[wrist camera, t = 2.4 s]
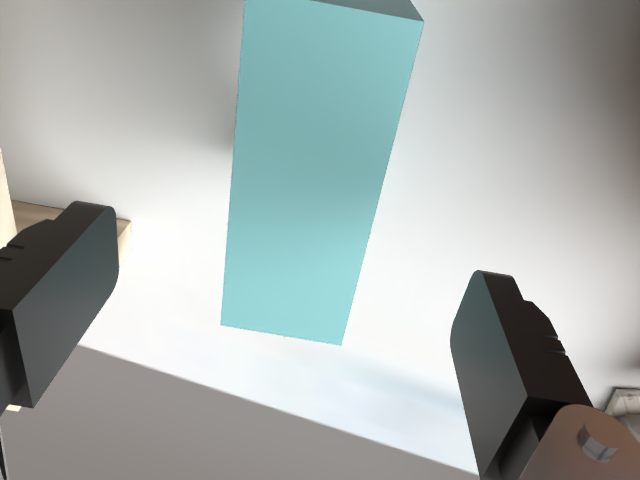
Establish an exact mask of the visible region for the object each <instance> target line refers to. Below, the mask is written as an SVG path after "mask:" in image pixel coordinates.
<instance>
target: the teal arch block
mask: <svg viewBox="0 0 640 480" xmlns="http://www.w3.org/2000/svg"><path fill="white" fill-rule="evenodd" d="M423 25H424V21H423V19H422V18H421V16H420V15H419V13H418V12H417V10H416V9H415V7H414V6H413V4H412V3H411V1H410V0H245V3H244V17H243V30H242V43H241V57H240V70H239V84H238V97H237V110H236V124H235V137H234V151H233V164H232V177H231V191H230V204H229V218H228V231H227V244H226V258H225V271H224V285H223V298H222V311H221V325H223V326H229V327H234V328H240V329H246V330H252V331H258V332H264V333H270V334H276V335H282V336H287V337H293V338H299V339H305V340H311V341H317V342H323V343H329V344H335V345H340V346H341V344H342V340H343V336H344V332H345V329H346V325H347V321H348V317H349V313H350V309H351V305H352V301H353V297H354V294H355V290H356V286H357V282H358V278H359V274H360V270H361V266H362V262H363V259H364V255H365V251H366V247H367V243H368V239H369V235H370V231H371V227H372V224H373V220H374V216H375V212H376V208H377V204H378V200H379V196H380V192H381V188H382V185H383V181H384V177H385V173H386V169H387V165H388V161H389V157H390V153H391V150H392V146H393V142H394V138H395V134H396V130H397V126H398V122H399V118H400V115H401V111H402V107H403V103H404V99H405V95H406V91H407V87H408V83H409V80H410V76H411V72H412V68H413V64H414V60H415V56H416V52H417V48H418V45H419V41H420V37H421V33H422V29H423Z"/></svg>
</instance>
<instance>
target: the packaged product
mask: <svg viewBox="0 0 640 480" xmlns="http://www.w3.org/2000/svg"><path fill="white" fill-rule="evenodd" d="M604 413H606V414H608V415H610V416H611V417H613V418H614V419H616V420H617V421H618V422H620V423H621V424H622V425H623V426H625V427H626V428H627V429H628V430H629V431H630V432H631V434H632V435H633V436H634V437H635V438H636V440H637V441H638V443H639V444H640V390H636V389H616V390H615V391H614V393H613V395H612V397H611V399H610V402H609V404H608V406H607V408H606V410H605V412H604Z"/></svg>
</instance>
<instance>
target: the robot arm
mask: <svg viewBox="0 0 640 480" xmlns="http://www.w3.org/2000/svg"><path fill="white" fill-rule="evenodd" d="M118 274H119V254H118V239H117V223H116V214H115V210H114V209H113V208H112V207H110V206H105V205H99V204H93V203H87V202H81V201H74V202H73V203H71V204H70V205H69V206H68V207H67V208H66V209H65V210H64V211H63V212H62V213H61V214H60V215H59V216H58V217H56V218H55V219H54V220H51V219H45V220H42V221H40V222H38V223H36V224H34V225H31V226H29V227H27V228H25V229H23V230H21V231H20V232H19V233H18V234H17V235H16V236H15V237H13V238H12V239H11V240H10V241H9V242H8V243H7V245H6V247H2V248H1V249H0V416H1V415H2V413H3V412H4V411H5V409H6V408H7V407H8V405H15V406H22V407H28V408H34V406H35V405H36V404H37V402H38V401H39V399H40V398H41V396H42V395H43V393H44V392H45V390H46V389H47V387H48V386H49V385H50V383H51V382H52V380H53V379H54V377H55V376H56V374H57V373H58V371H59V370H60V368H61V367H62V365H63V364H64V362H65V361H66V360H67V358H68V357H69V355H70V354H71V352H72V351H73V349H74V348H75V346H76V345H77V343H78V342H79V341H80V339H81V338H82V336H83V335H84V333H85V332H86V330H87V329H88V327H89V326H90V324H91V323H92V321H93V320H94V319H95V317H96V316H97V314H98V313H99V311H100V310H101V308H102V307H103V305H104V304H105V302H106V301H107V299H108V298H109V296H110V295H111V294H112V292H113V290H114V288H115V285H116V282H117V279H118ZM450 347H451V353H452V357H453V361H454V366H455V370H456V375H457V379H458V383H459V388H460V392H461V397H462V401H463V405H464V410H465V414H466V419H467V423H468V427H469V432H470V436H471V441H472V445H473V449H474V454H475V458H476V463H477V467H478V471H479V476H480V480H640V444H639V443H638V441H637V440H636V438H635V437H634V436H633V435H632V434H631V432H630V431H629V430H628V429H627V428H626V427H625V426H623V425H622V424H621V423H620V422H618V421H617V420H616V419H614V418H613V417H611V416H610V415H608V414H606V413H604V412H602V411H600V410H598V409H596V408H594V407H593V405H592V403H591V401H590V399H589V397H588V395H587V393H586V391H585V389H584V387H583V385H582V383H581V381H580V379H579V377H578V375H577V373H576V371H575V369H574V367H573V365H572V363H571V361H570V359H569V357H568V356H566V355H565V352H566V351H565V349H564V347H563V345H562V343H561V341H560V340H558V335H557V334H556V332H555V330H554V328H553V326H552V324H551V322H550V320H549V318H548V317H547V316H546V315H545V314H544V313H543V312H542V311H541V310H540V309H539V308H538V307H537V306H536V305H535V304H534V303H533V302H531V301H525V300H524V299H523V297H522V295H521V293H520V291H519V288H518V286H517V284H516V282H515V280H514V278H513V277H512V276H510V275H505V274H499V273H493V272H487V271H481V270H477V271H475V272H474V273H473V275H472V277H471V279H470V281H469V284H468V286H467V289H466V291H465V294H464V296H463V299H462V301H461V304H460V307H459V309H458V312H457V314H456V317H455V319H454V322H453V325H452V329H451V336H450ZM0 480H9V475H8V469H7V463H6V457H5V452H4V446H3V439H2V433H1V427H0Z"/></svg>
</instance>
